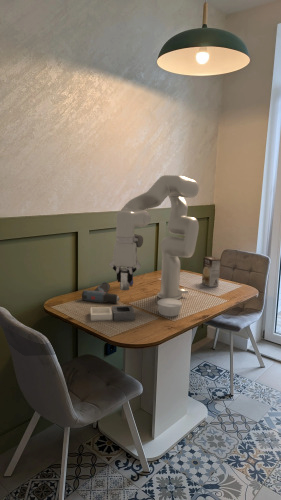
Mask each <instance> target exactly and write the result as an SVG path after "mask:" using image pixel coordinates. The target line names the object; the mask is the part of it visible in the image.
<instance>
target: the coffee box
mask: <svg viewBox="0 0 281 500" xmlns="http://www.w3.org/2000/svg"><path fill="white" fill-rule="evenodd" d="M220 270H221V259H220V258H217V257H215V256H203V264H202V275H201V277H202V278H201V283H202V284H203V285H205V286H207V287H209V288H212V287H213V288H214V287H218V286H219V285H220V284H219V281H220Z"/></svg>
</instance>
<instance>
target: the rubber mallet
mask: <svg viewBox="0 0 281 500" xmlns="http://www.w3.org/2000/svg"><path fill="white" fill-rule="evenodd" d="M134 236H135V238H138V241H136V242H134V243H136V246H137V248H141V247H142V246H143V243H144V237H143V235H141V234H135V233H134ZM126 268H129V267H126ZM134 268H135V267H133V269H134ZM133 285H134V279H133V280H132V281H131V283H129V287H132V286H133Z"/></svg>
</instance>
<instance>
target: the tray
mask: <svg viewBox="0 0 281 500" xmlns="http://www.w3.org/2000/svg"><path fill="white" fill-rule="evenodd" d="M89 308H90V310H89V312H90V321H92V322H93V321H113V316H112V306H97V307H95V306H93V307H92V306H91V307H89Z"/></svg>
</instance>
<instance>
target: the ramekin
mask: <svg viewBox="0 0 281 500" xmlns="http://www.w3.org/2000/svg"><path fill="white" fill-rule="evenodd" d="M156 302H157V303H156V304H157V310H158V312H159V314H160V315H162V316H164V317H177V316H179V315H180V312H181V308H182V304H183V303H182V301H181V300H180V299H178V300H176V299H170V298H164V299H161V298H159V300H157V301H156Z"/></svg>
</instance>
